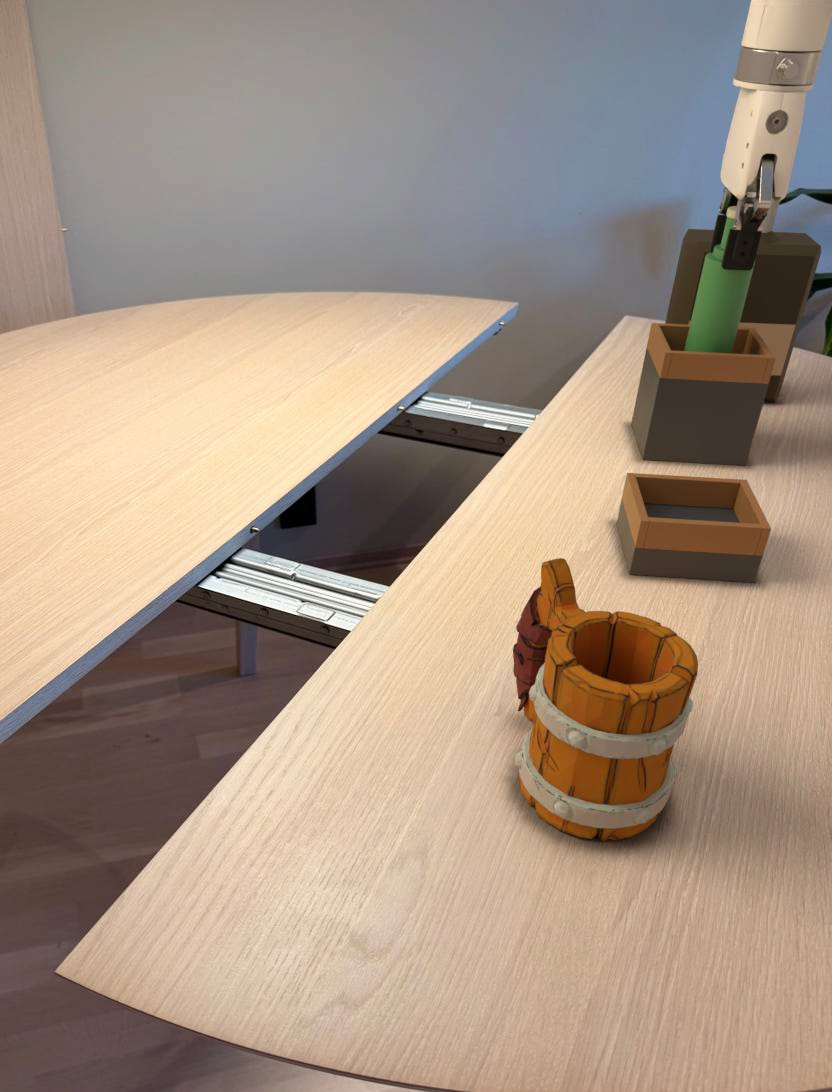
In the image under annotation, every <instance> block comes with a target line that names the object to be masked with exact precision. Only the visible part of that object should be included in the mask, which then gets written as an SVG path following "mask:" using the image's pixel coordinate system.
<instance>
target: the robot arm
mask: <svg viewBox="0 0 832 1092" xmlns="http://www.w3.org/2000/svg"><path fill="white" fill-rule="evenodd" d="M831 20H832V0H750V3H749V9H748V12H747V17H746V22H745V26H744V31H743V35H742V39H741V44H740V45H741V46H740V49H739V54H738V59H737V62H736V66H735V72H734V76H733V80H732V85H733V86H735V87H737V88H740V89H739V94H738V97H737V101H736V103H735V108H734V111H733V115H732V119H731V123H730V127H729V131H728V135H727V139H726V144H725V146H724V147H725V148H724V152H723V157H722V163H721V168H720V181H721V183H722V184H723V186H724V188H723V193H722V197H721V200H720V202H719V203H720V204H719V206H718V207H719V208H718V214H717V217H716V221H715V225H714V229H713V230H714V233H713V238H712V242H711V247H710V252H711V253H712V252H713V251H714V247H715V246H716V245H719V244H721V242H722V237H723V233H724V229H725V224H726V220H727V216H726V214H727V209H728V208H729V207H731V206H737V209H736V215H735V221H734V229H730V230H729V234H728V238H727V242H726V247H725V251H724V255H723V259H722V264H721V266H722V268H723V269H725V270H746V271H749V270H751V269H752V268H753V265H754V261H755V257H756V253H757V250H758V246H759V242H760V238H761V234H762V231H763V228H764V223H765V217H766V216H767V212H768V210H769V209H770V207H771V204H772V198H773V199H774V200H775V201H780V202H781V201H782V200H784V199H785V198H786V196H787V193H788V190H789V186H790V181H791V178H792V174H793V168H794V163H795V159H796V154H797V150H798V145H799V141H800V135H801V131H802V125H803V119H804V114H805V108H806V107H805V106H806V100H807V99H806V97H807V92H809V91H812V90H813V89H814V85H815V82H816V81H815V80H816V77H817V73H818V69H819V66H820V62H821V59H822V55H823V50H824V46H825V42H826V38H827V35H828V32H829V27H830V25H831ZM753 192H756V197H752V195H753ZM749 205H753V207H749ZM745 207H748V209H747V210H746V212H745V214H744V210H745Z"/></svg>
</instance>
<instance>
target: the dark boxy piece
mask: <svg viewBox="0 0 832 1092" xmlns="http://www.w3.org/2000/svg"><path fill="white" fill-rule="evenodd" d="M752 197H756V192H753V195H752ZM780 203H781V201H775V200H774V199H773V198H772V204H771V207H770V209H769V210H768V212H767V216H766V217H765V223H764V228H763V231H762V234H761V238H760V242H759V246H758V250H757V253H756V257H755V264H754V268H753V272H752V276H751V280H750V284H749V288H748V292H747V296H746V300H745V303H744V307H743V311H742V315H741V319H740V323H739V327H747V328H755V330H756V331H757V332H758V334H759V335H760V337H761V338H762V339H763V341H764V342H765V344H766V345H767V346H768V348H769V349H770V351H771V352H772V353H773V355H774V356H775V358H776V360H775V363H774V367H773V370H772V374H771V377H770V381H769V385H768V388H767V392H766V395H765V399H764V402H769V403H770V402H771V403H776V402H777V400H778V398H779V395H780V394H781V391H782V388H783V384H784V380H785V377H786V374H787V371H788V367H789V364H790V361H791V358H792V357H791V356H792V354H793V350H794V347H795V343H796V339H797V337H798V333H799V329H800V326H801V322H802V319H803V316H804V314H805V313H804V312H805V309H806V307H807V302H808V300H809V296H810V293H811V289H812V286H813V282H814V279H815V275H816V272H817V269H818V264H819V261H820V258H821V254H822V246H821V244H820V243H818V242H817V241H816V240H815V239H813V238H812V237H811V236H810V235H808V234H807V233H806V232H789V231H788V232H786V231H785V232H784V231H773V229H774V226H775V222H776V219H777V214H778V210H779V206H780ZM749 207H753V205H749ZM713 233H714V229H705V228H704V229H702V228H701V229H700V228H688V229H687V231H686V232H685V235H684V236H683V238H682V242H681V247H680V251H679V256H678V261H677V265H676V271H675V275H674V280H673V284H672V289H671V294H670V299H669V303H668V307H667V313H666V317H665V322H664V323H666V324H686V325H690V323H691V318H692V314H693V309H694V305H695V300H696V296H697V292H698V287H699V283H700V278H701V274H702V269H703V265H704V261H705V256H706V255H707V254H708V253H711V252H710V247H711V242H712V238H713Z"/></svg>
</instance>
